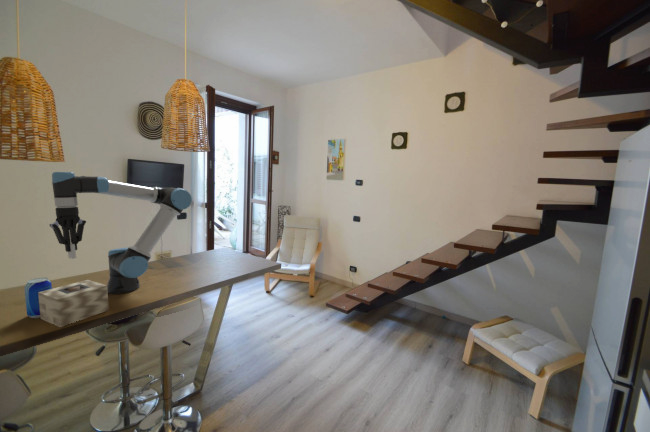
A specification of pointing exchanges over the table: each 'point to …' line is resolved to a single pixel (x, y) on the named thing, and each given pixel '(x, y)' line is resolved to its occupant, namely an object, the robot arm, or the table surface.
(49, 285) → the beer can
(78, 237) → the robot arm
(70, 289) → the peg
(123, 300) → the table surface
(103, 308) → the tissue box
